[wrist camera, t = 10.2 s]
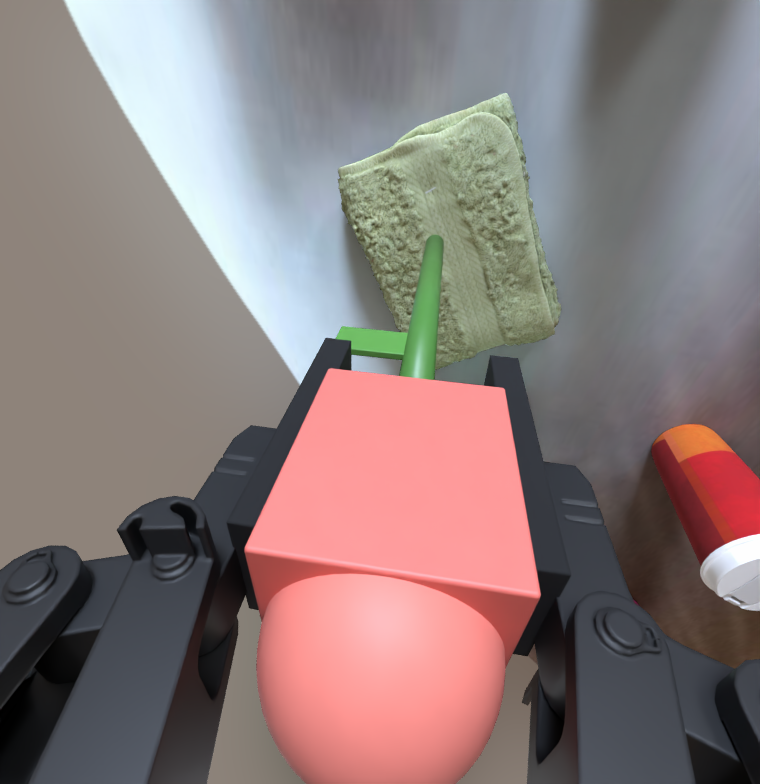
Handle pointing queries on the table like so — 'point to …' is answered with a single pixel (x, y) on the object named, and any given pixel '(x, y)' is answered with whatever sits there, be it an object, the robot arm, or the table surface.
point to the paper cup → (714, 509)
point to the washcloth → (457, 229)
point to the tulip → (392, 567)
